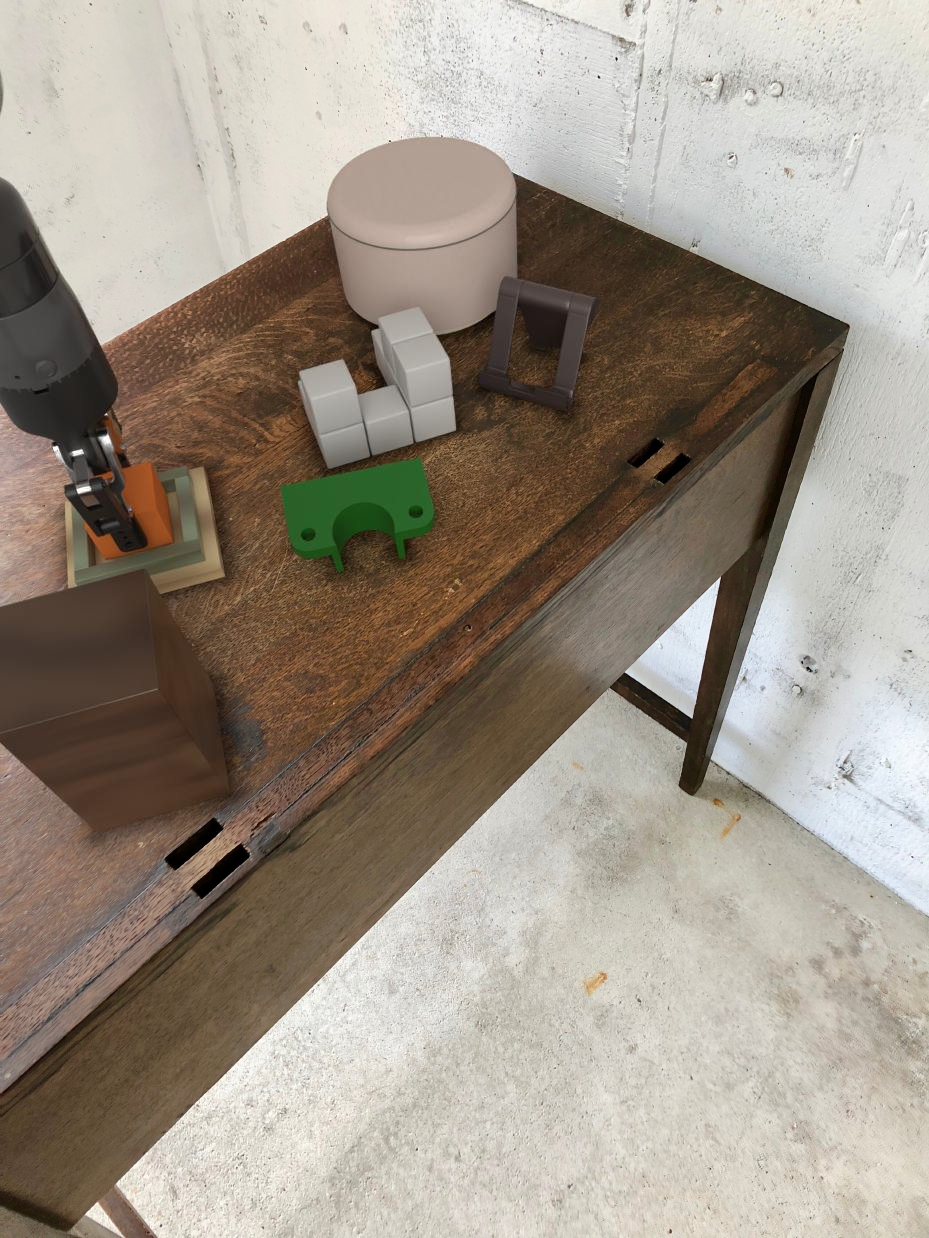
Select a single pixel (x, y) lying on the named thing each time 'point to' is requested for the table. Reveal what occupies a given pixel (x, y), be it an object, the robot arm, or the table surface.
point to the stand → (109, 702)
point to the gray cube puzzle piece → (383, 394)
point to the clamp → (358, 508)
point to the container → (425, 230)
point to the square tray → (167, 564)
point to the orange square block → (141, 510)
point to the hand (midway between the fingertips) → (132, 519)
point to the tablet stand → (539, 338)
